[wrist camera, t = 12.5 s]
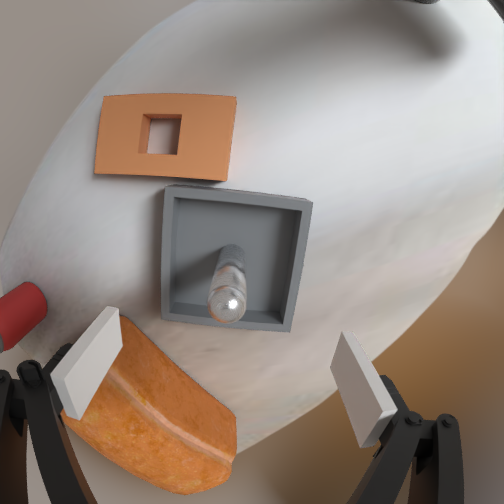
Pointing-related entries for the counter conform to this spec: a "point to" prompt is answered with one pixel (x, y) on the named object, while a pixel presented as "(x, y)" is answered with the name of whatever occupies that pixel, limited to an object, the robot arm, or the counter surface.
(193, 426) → the bread
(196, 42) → the counter surface
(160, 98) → the orange block with hole
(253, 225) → the tray
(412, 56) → the counter surface
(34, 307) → the beer can
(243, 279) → the pin
